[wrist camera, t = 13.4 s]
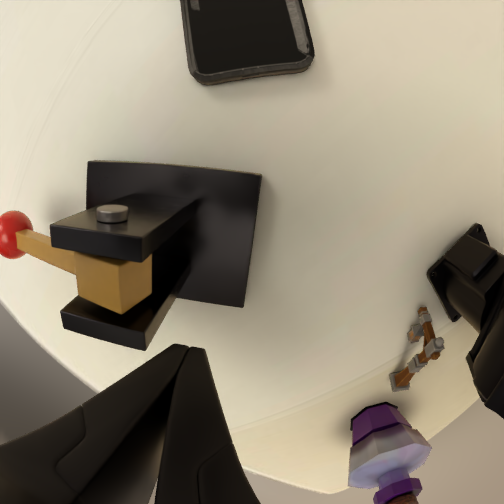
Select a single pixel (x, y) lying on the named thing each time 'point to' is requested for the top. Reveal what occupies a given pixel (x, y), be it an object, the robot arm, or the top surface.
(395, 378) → the wooden post with brackets
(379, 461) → the potion bottle
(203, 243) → the bracket
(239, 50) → the phone
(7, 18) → the top surface
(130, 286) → the lever
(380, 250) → the top surface
